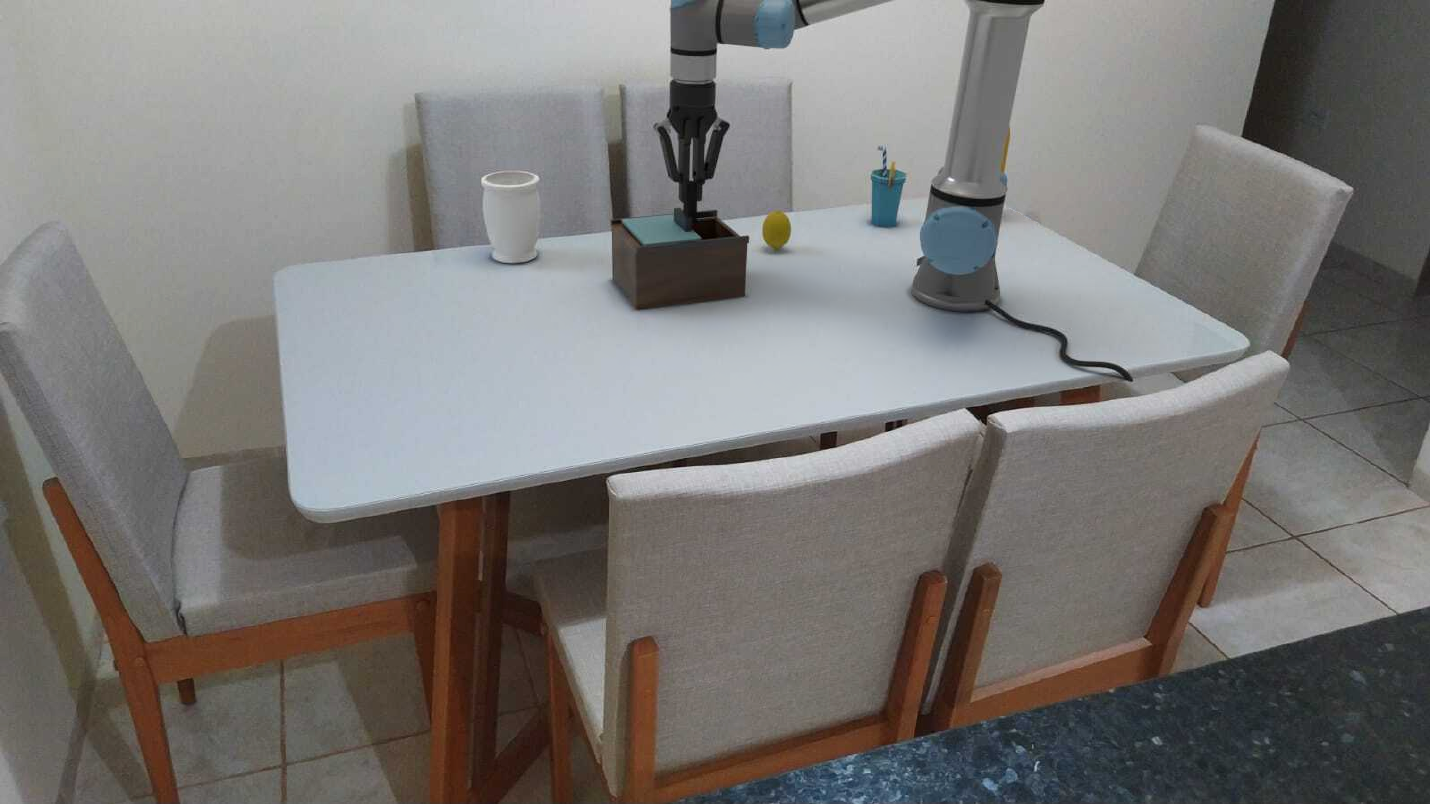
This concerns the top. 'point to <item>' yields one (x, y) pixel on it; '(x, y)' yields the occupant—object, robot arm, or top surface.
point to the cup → (886, 193)
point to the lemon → (776, 229)
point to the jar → (512, 214)
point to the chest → (680, 265)
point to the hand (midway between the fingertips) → (689, 219)
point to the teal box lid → (662, 228)
